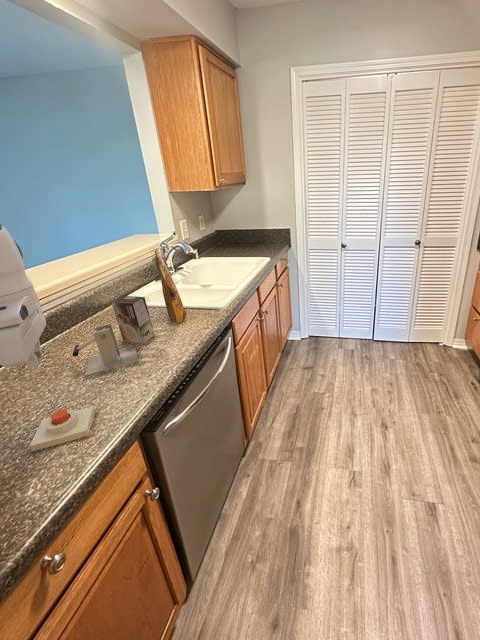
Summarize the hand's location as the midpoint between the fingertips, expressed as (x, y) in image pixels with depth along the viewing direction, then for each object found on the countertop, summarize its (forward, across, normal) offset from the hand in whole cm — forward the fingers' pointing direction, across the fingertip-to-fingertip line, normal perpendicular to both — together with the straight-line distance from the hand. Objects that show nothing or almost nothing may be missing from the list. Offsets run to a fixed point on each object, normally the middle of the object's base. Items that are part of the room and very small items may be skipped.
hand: (36, 362), depth 70 cm
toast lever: (+11, -27, +6) cm, 30 cm away
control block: (+19, 0, 0) cm, 19 cm away
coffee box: (+19, -40, +18) cm, 47 cm away
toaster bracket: (+19, -27, +9) cm, 35 cm away
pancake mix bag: (+19, -54, +32) cm, 65 cm away
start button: (+16, 0, 0) cm, 16 cm away
